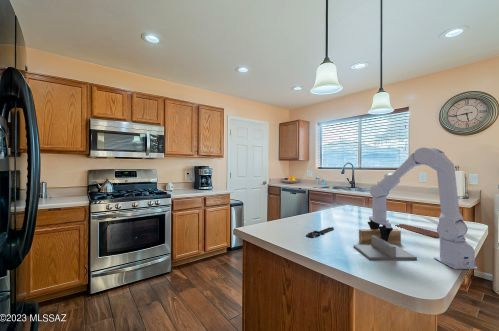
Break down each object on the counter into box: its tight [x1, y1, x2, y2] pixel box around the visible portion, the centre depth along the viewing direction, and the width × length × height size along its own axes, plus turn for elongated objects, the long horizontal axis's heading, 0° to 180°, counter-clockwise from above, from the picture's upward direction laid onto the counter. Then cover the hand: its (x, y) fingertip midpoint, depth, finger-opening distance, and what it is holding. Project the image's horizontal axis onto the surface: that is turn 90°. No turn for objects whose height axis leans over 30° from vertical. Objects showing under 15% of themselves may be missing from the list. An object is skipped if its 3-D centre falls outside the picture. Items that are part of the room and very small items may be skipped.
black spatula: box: [305, 226, 335, 239], centre depth 124 cm, size 25×6×1 cm, turn 127°
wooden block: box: [358, 228, 402, 244], centre depth 108 cm, size 3×18×6 cm, turn 89°
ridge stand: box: [353, 236, 418, 261], centre depth 95 cm, size 14×18×5 cm
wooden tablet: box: [394, 223, 440, 239], centre depth 127 cm, size 27×10×2 cm, turn 15°
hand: (379, 239), depth 108 cm, fingers open, 7 cm apart
